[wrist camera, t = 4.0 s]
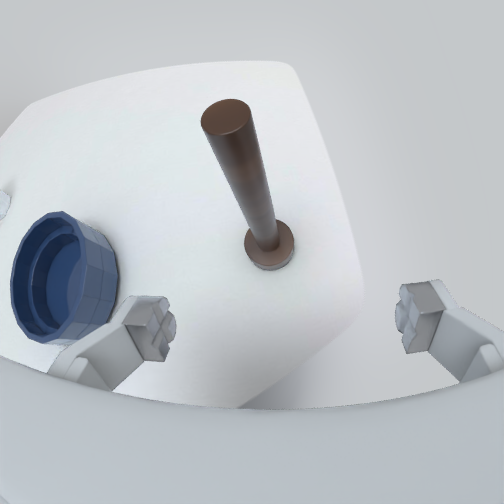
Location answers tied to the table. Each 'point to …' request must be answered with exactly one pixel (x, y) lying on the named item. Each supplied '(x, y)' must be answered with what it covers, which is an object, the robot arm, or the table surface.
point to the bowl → (62, 280)
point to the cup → (4, 203)
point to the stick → (248, 181)
